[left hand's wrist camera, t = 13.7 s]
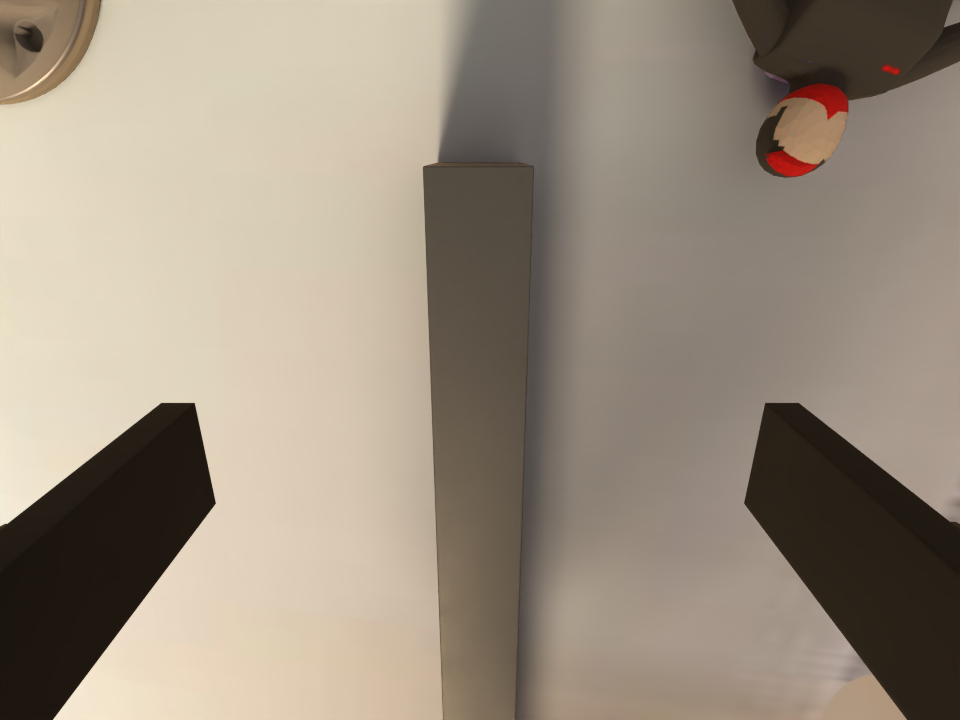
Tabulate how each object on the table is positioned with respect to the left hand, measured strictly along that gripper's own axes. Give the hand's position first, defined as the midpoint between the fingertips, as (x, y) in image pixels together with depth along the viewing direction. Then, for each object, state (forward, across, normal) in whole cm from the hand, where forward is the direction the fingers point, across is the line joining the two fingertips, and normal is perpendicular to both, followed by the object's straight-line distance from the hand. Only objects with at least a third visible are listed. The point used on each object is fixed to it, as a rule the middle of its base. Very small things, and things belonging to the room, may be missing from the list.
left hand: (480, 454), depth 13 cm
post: (+23, 0, -28) cm, 36 cm away
